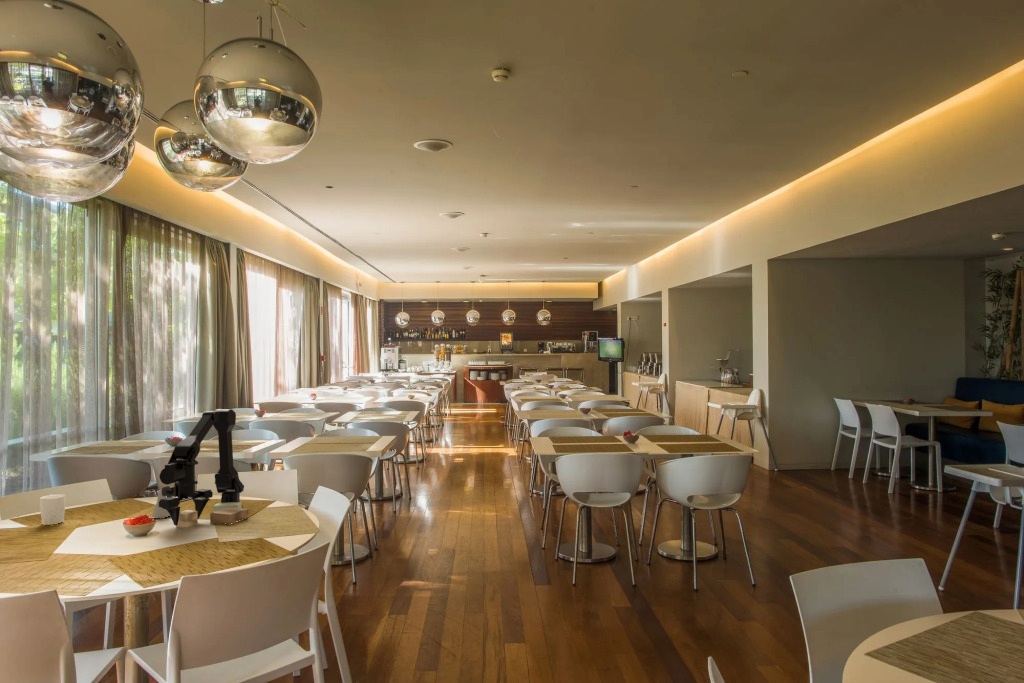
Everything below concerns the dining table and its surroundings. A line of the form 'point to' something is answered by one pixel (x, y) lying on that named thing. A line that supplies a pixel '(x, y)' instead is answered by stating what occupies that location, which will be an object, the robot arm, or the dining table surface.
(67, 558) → the dining table surface
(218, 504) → the block
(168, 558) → the dining table surface
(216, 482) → the robot arm
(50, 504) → the white cup
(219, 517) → the base block
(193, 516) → the oak cube
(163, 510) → the flask
